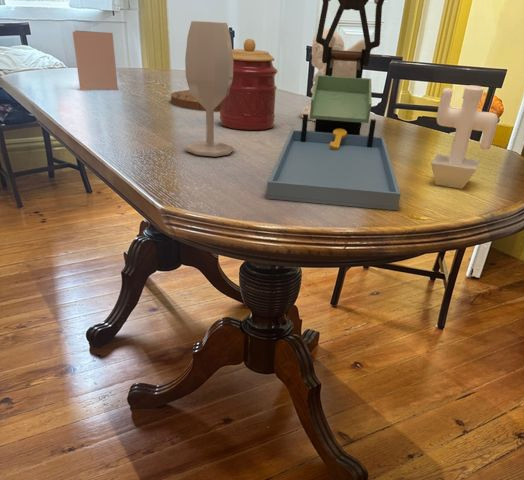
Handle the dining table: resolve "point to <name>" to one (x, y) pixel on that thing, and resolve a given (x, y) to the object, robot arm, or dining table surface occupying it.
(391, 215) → the dining table surface
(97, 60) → the greeting card
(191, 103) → the trivet
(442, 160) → the figurine
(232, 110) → the kitchen canister
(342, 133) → the key
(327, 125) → the stand
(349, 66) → the cherub figurine
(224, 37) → the wineglass
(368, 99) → the green dustpan
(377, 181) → the tray
